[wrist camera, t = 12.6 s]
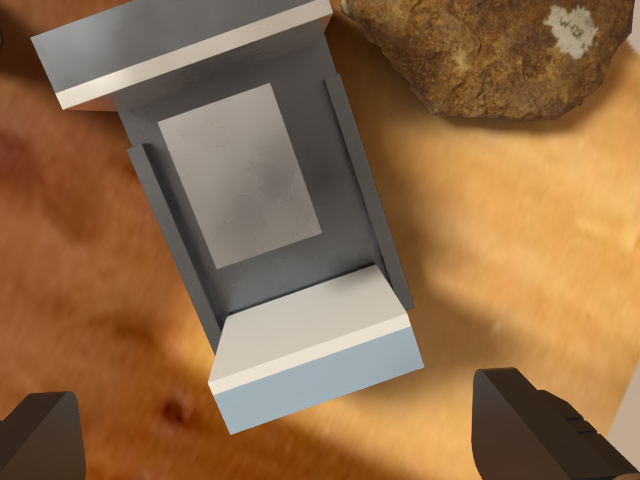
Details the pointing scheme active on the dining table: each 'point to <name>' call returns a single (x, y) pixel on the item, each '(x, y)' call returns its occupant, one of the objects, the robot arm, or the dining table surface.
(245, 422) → the block
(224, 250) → the steel block
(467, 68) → the decorative rock
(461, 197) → the dining table surface
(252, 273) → the vise
